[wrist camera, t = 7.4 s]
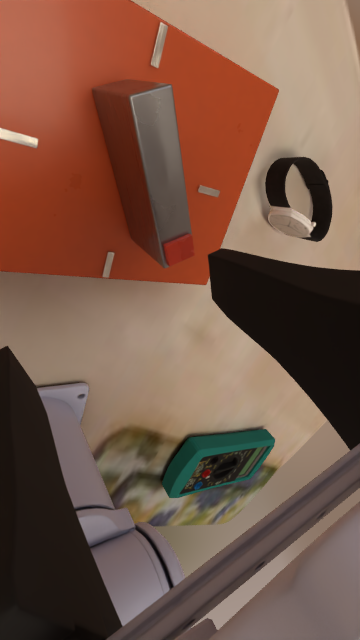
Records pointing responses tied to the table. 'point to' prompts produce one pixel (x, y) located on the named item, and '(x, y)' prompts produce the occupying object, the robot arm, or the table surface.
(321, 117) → the table surface
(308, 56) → the table surface
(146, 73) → the orange block
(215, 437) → the digital multimeter
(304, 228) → the watch
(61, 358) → the table surface
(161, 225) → the grey block with button
